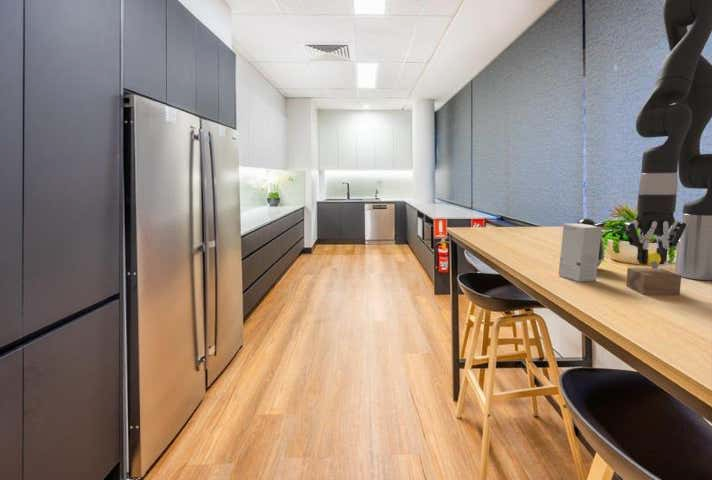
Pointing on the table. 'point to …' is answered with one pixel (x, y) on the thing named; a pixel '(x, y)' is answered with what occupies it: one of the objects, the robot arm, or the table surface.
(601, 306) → the table surface
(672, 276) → the walnut block
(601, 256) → the pump dispenser
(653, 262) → the light bulb
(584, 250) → the skincare box
